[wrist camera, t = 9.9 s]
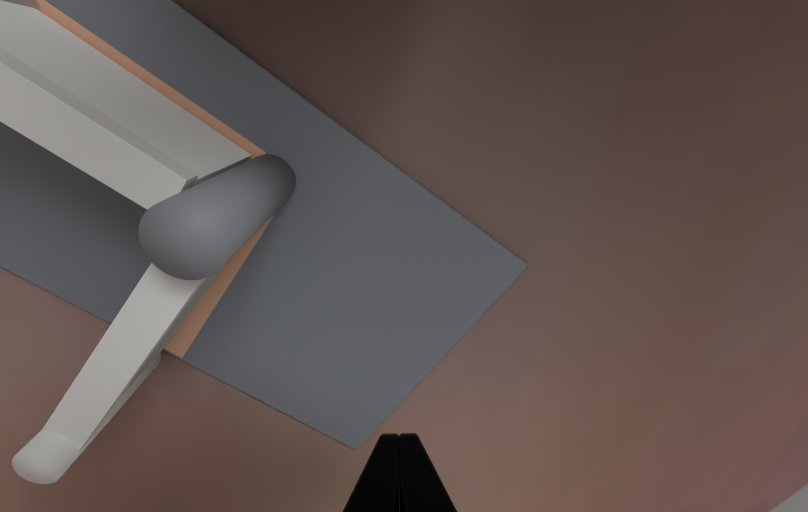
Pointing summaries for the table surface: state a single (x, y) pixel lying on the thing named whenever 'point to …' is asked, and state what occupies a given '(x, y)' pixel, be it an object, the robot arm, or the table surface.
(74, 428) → the fence gate
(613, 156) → the table surface
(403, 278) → the mat
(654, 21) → the table surface
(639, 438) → the table surface
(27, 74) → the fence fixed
